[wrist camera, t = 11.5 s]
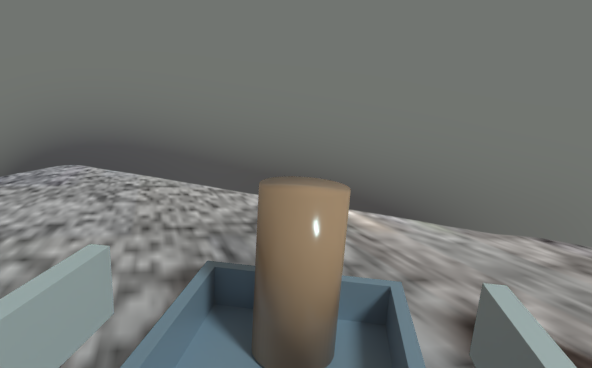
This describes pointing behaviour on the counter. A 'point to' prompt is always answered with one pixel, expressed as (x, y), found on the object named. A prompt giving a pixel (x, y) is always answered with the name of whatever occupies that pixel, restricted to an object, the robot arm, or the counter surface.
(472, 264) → the counter surface
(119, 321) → the counter surface
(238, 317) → the tray
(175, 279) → the counter surface
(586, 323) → the counter surface
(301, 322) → the canister
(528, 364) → the robot arm
